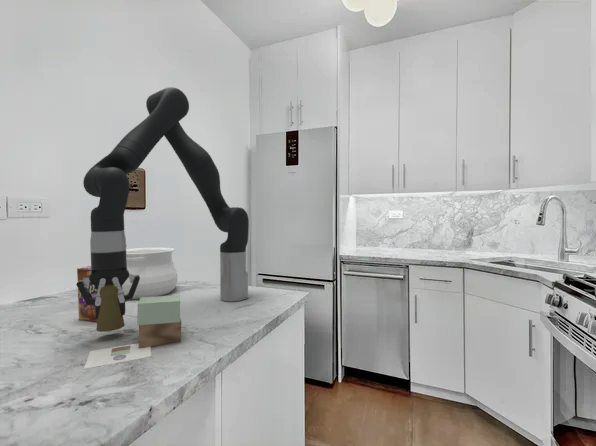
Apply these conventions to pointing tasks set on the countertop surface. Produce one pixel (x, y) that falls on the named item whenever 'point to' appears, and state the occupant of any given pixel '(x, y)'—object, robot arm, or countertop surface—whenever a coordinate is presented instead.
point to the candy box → (84, 309)
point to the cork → (109, 310)
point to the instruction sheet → (116, 355)
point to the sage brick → (158, 310)
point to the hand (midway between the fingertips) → (111, 318)
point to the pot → (151, 271)
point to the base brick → (159, 334)
